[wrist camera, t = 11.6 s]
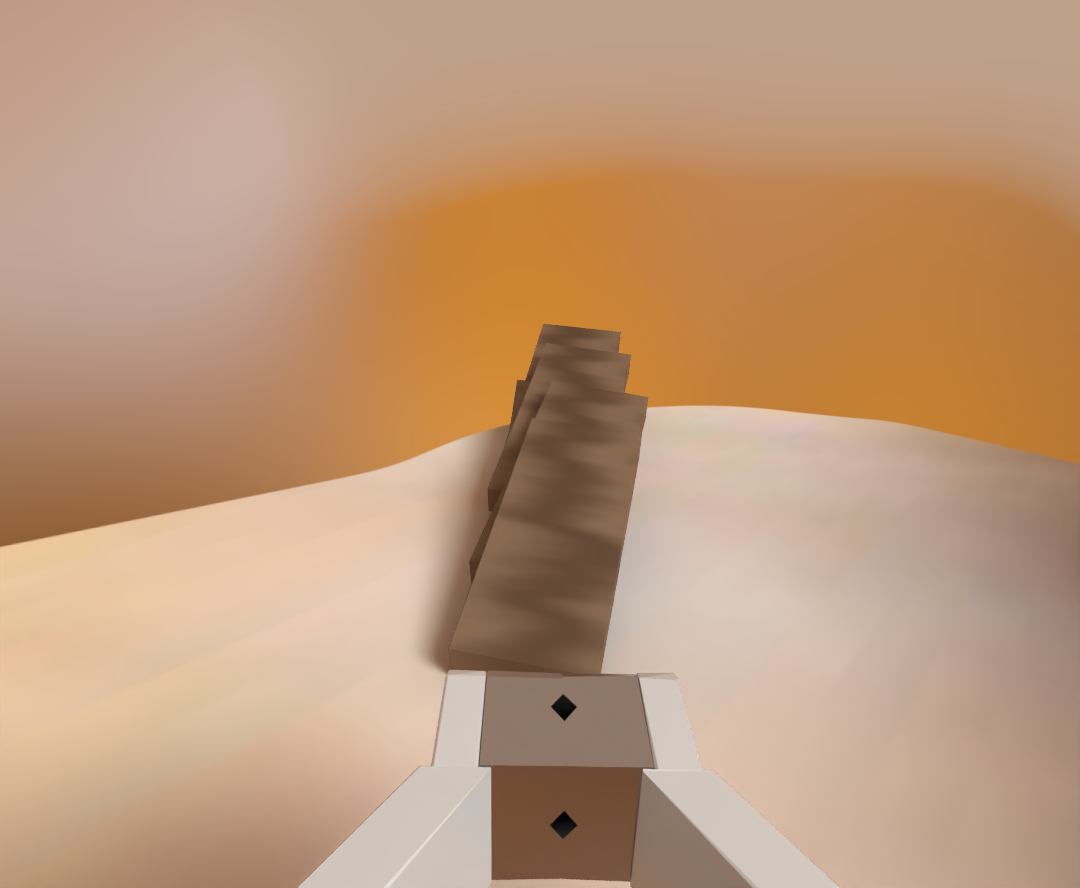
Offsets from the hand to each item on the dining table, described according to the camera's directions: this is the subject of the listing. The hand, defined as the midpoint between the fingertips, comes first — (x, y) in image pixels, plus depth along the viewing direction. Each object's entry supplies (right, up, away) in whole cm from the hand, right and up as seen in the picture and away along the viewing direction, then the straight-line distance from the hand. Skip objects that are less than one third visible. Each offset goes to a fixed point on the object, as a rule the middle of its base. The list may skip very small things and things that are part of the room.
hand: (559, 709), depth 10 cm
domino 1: (-1, -6, +20) cm, 21 cm away
